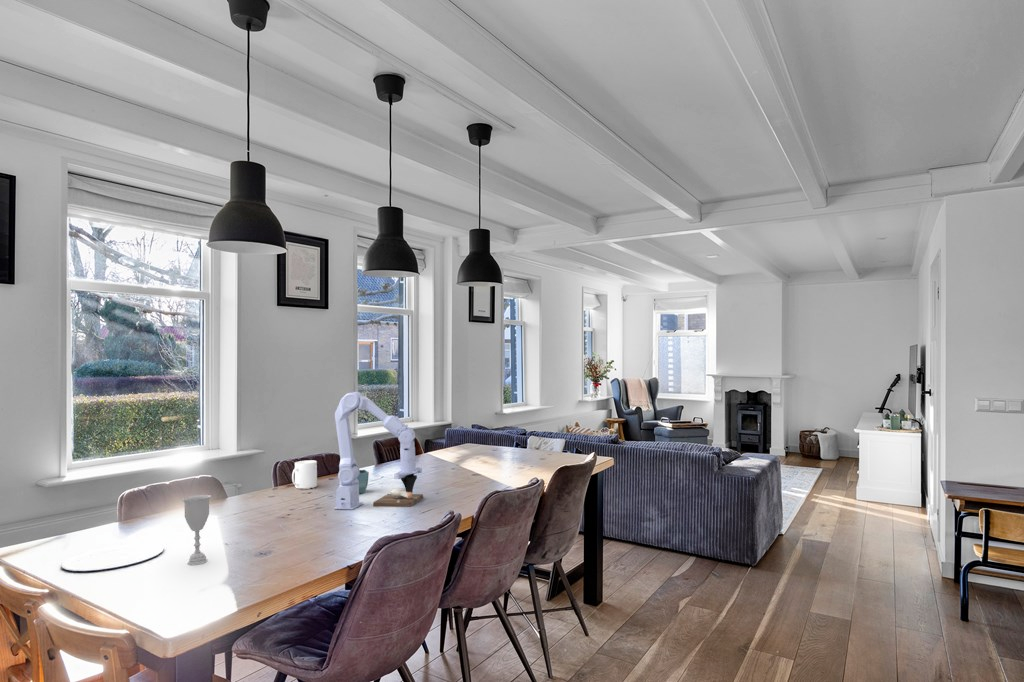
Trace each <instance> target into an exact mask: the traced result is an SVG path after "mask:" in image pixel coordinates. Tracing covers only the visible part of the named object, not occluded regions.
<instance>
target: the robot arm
mask: <svg viewBox="0 0 1024 682" xmlns="http://www.w3.org/2000/svg"><path fill="white" fill-rule="evenodd" d="M355 410H362V411H363V410H365V411H367V412H368V413H370V414H371V415H373V416H374V417H376V418H377V419H378V420H380V422H382V423H383V424H382V425H383V427H384V428H385V429H386V430H387V431H388V432H390V434H392V435H393V436H395V437H396V438H397V439H398V441H399V443H400V444H399V446H400V448H399V450H400V451H399V453H400V455H399V456H400V471H398V472H397V473H394V478H393V479H394V480H401V482H402V483H403V487H404V488H405V489H406V492H412V494H414V492H413V489H414V485H415V482H416V480H417V479H418V475H416V474H422V473H423V467H419V466H418V467H417V466H416V447H415V438H416V432H415V430H414V429H413V428H412V427H409V425H408V424H405V423H403V422H402V421H401V420H400V419H399V416H398V415H394V414H393V415H388V414H387V413H386V412H385V411H383V409H381V408H380V406H378V405H377V404H376V403H375V402H374V401H372V399H369V398H368V397H367V396H366V395H363V394H362V393H361V392H359V391H353V392H347V393H346V394H345V395H343V397H342V398H341V399H340V401H339V404H338V406H337V408H336V410H335V412H334V419H335V420H334V421H335V427H336V434H337V441H338V442H337V444H338V449H339V450H338V452H339V458H340V461H339V465H338V467H339V471H338V474H337V479H338V481H339V486H338V488H337V489H336V491H335V507H333V509H334V510H354V509H356V508H358V507H360V506H362V505H363V504H364V501H363V502H360V493H359V481H358V479H357V477H358V476H359V473H360V470H361V469H360V467H359V466H358V464H357V461H356V459H355V455H354V448H353V447H354V446H353V440H352V434H351V426H350V418H349V417H350V416H351V415H352V414H353V412H355Z"/></svg>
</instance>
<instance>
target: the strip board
mask: <svg viewBox="0 0 1024 682" xmlns="http://www.w3.org/2000/svg"><path fill="white" fill-rule="evenodd" d="M423 498H424V494H422V493H421V494H420V493H418V494H417V493H412V498H407V497H404V496H392V495H391V493H387V494H386V495H384V496H382V497H380V498H378V499H376V500H375V501H372V507H388V508H389V507H392V508H393V507H398V508H399V507H402V508H403V507H404V508H410V507H413V506H414V505H415V504H417V503H418V502H419V501H421V500H422V499H423Z"/></svg>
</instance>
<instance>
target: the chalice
mask: <svg viewBox="0 0 1024 682" xmlns="http://www.w3.org/2000/svg"><path fill="white" fill-rule="evenodd" d="M211 497H212V495H210V494H200V495H199V494H198V495H191V496H187V497H184V498H182V502H183V503H184V518H185V521H186V523H187V526H188V527H189V529H190V530H191V531H192V532H194V533H195V534H194V538H193V539H194V541H195V543H194V544H193V546H194V547H195V548H194V549H195V551H194V552H193V553H192V554H191V555H190V557H189V559H188V561H187V565H188V566H197V565H201V564H202V565H203V564H205V563H207V562H208V559H207V556H206V555H205V553H204V552H202V551H200V546H201V545H202V544H201V543H200V539H201V536H200V532H201V530H203V529H204V527H205V525H206V523H207V521H208V517H209V515H210V499H211Z"/></svg>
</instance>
